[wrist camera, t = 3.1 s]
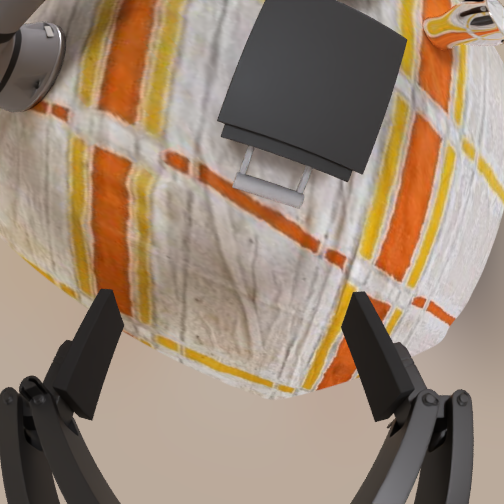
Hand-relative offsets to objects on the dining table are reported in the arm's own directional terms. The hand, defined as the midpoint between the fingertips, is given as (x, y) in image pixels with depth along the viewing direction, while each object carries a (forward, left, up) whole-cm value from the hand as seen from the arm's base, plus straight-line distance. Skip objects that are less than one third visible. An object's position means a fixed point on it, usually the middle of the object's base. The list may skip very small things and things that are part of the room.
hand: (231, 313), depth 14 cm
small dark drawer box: (+6, +15, -22) cm, 28 cm away
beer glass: (+28, +31, -22) cm, 48 cm away
